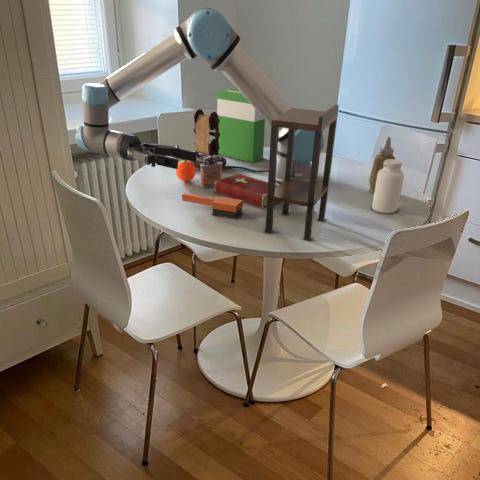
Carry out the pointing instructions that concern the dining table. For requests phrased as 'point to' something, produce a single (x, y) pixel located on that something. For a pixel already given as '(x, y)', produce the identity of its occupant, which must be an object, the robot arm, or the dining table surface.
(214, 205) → the brush
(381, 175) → the pill bottle
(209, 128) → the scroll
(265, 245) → the dining table surface
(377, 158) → the squeeze bottle
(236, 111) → the green cereal box
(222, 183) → the hardcover book
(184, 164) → the clementine
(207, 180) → the lighter
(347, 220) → the dining table surface
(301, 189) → the metal plant stand
